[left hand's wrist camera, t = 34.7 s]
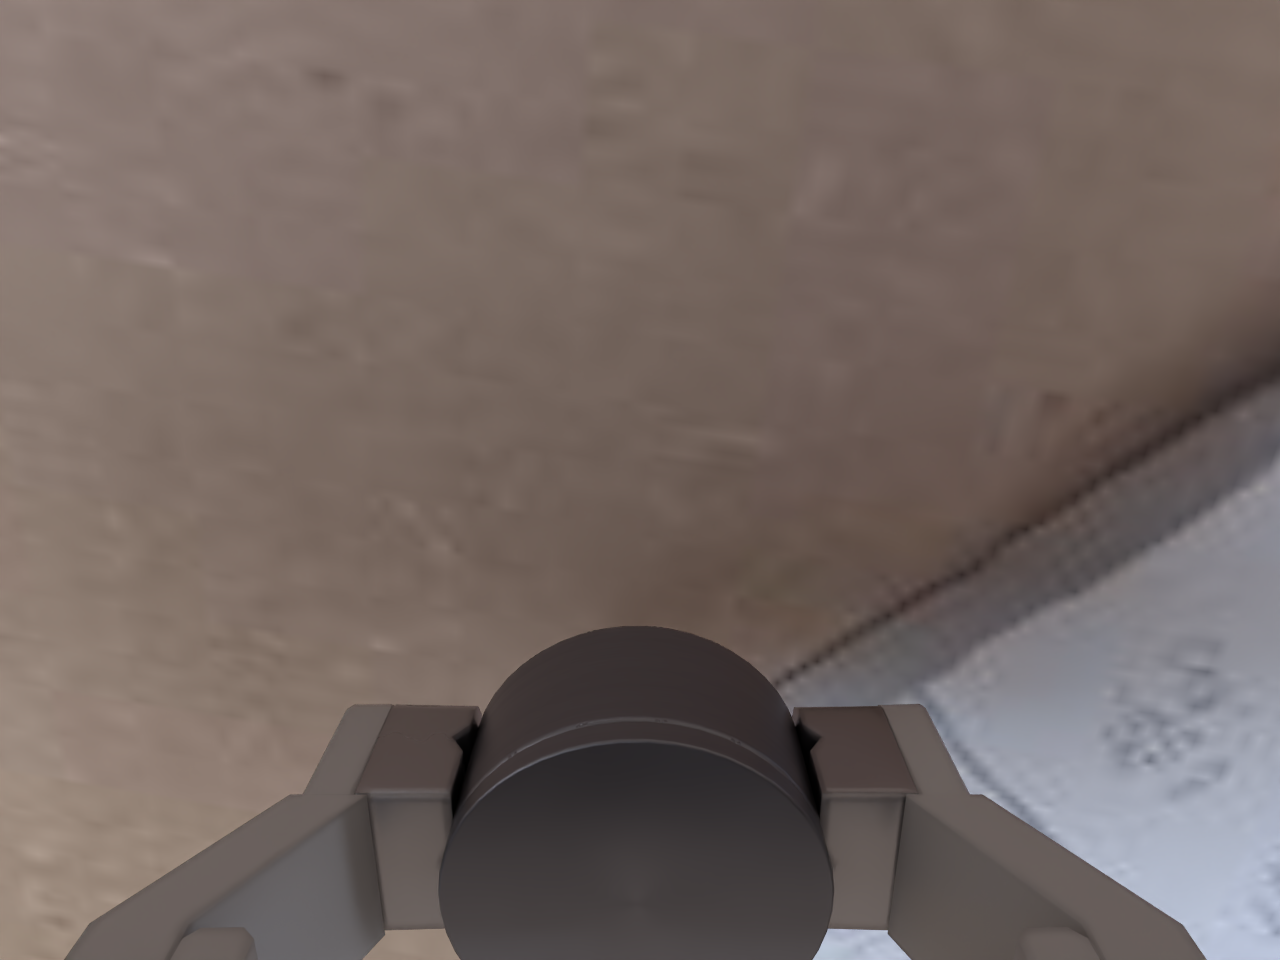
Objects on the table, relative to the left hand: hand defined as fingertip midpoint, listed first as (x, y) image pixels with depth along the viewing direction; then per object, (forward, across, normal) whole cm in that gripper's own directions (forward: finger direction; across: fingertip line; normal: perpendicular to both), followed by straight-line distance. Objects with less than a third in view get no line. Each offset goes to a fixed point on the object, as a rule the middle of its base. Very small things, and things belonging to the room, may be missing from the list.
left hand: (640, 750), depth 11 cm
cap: (-2, 0, 0) cm, 2 cm away
